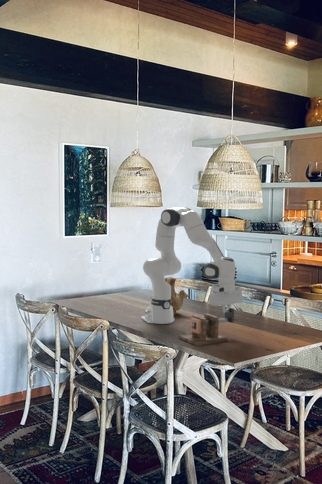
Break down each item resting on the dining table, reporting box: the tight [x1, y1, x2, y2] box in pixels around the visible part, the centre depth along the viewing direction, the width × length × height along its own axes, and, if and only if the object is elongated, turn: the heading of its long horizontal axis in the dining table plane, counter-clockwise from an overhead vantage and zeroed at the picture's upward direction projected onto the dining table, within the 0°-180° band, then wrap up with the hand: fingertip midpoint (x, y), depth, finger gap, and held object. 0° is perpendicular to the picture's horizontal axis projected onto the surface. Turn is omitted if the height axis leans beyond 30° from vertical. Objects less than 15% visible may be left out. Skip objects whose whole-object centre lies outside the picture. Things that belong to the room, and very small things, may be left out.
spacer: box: [189, 317, 201, 334], centre depth 273 cm, size 7×2×7 cm, turn 31°
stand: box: [178, 313, 229, 346], centre depth 276 cm, size 16×20×12 cm
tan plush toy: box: [165, 276, 190, 316], centre depth 337 cm, size 18×19×25 cm
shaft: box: [192, 306, 235, 327], centre depth 278 cm, size 6×25×8 cm, turn 121°
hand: (225, 312), depth 283 cm, fingers closed
